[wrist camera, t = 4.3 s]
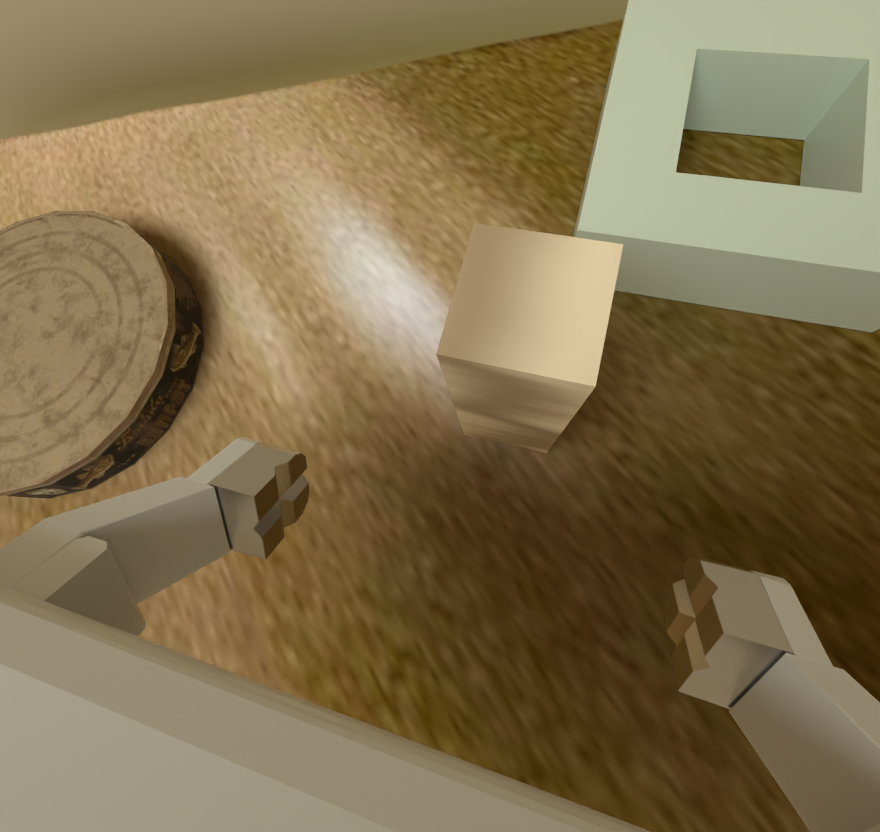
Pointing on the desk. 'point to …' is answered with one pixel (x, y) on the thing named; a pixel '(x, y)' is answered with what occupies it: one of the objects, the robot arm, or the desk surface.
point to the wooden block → (526, 332)
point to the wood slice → (88, 351)
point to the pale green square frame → (733, 200)
